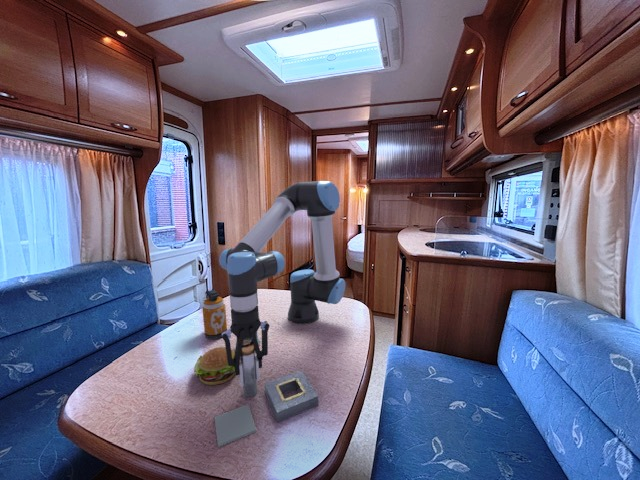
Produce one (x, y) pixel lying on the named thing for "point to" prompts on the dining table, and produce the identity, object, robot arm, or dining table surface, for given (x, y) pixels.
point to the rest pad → (234, 425)
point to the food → (214, 367)
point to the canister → (214, 315)
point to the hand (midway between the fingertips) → (249, 380)
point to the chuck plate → (294, 403)
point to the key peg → (248, 369)
